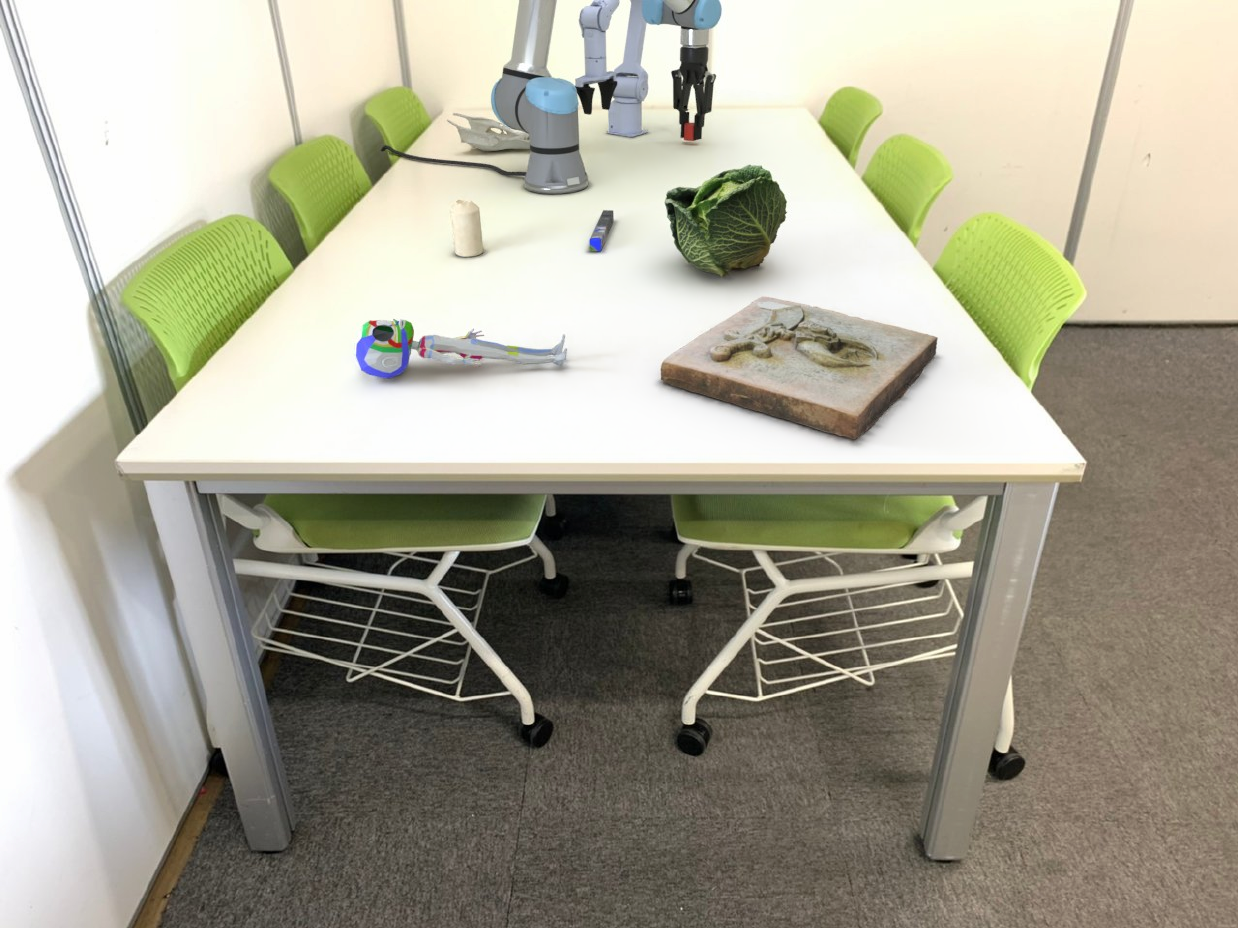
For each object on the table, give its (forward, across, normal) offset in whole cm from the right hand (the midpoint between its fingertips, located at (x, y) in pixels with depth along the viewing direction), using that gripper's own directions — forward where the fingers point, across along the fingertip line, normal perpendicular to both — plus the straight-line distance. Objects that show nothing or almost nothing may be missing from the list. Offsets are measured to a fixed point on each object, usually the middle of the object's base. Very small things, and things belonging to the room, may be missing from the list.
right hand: (596, 111), depth 243 cm
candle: (+9, -82, -36) cm, 90 cm away
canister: (+8, +18, -18) cm, 27 cm away
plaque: (+9, -88, -113) cm, 143 cm away
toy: (+9, -117, -73) cm, 139 cm away
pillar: (+9, -58, -50) cm, 78 cm away
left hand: (+8, +18, -18) cm, 27 cm away
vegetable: (+9, -60, -81) cm, 101 cm away
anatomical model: (+9, -18, +21) cm, 30 cm away
